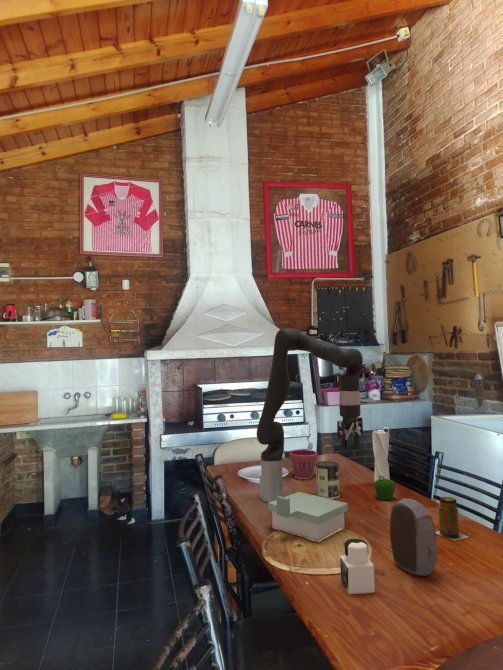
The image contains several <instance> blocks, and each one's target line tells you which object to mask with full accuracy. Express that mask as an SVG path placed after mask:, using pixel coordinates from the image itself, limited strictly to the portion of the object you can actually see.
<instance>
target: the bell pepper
mask: <svg viewBox="0 0 503 670" xmlns="http://www.w3.org/2000/svg"><path fill="white" fill-rule="evenodd" d="M378 477H379V478H382V479H383V480H382V479H378V480H377V481H375V480H374V490H375V494H376V497H377V499H378V500H381V501H385V500H387V501H391V500H390V499H394V494H395V490H396V485H395V484H396V483H395V481H394V480H392V479H390V480H388V479H385V477H383V476H378Z"/></svg>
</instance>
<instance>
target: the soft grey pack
mask: <svg viewBox="0 0 503 670" xmlns="http://www.w3.org/2000/svg"><path fill="white" fill-rule="evenodd" d="M390 509H391V510H390V522H389V539H390V548H391V552H392V557H393V562H395V564H396V565H397V566H398V567H400V568H401V569H403V570H405V571H406V572H408V573H411V574H413V575H416V576H420V577H422V576H423V577H424V576H430V575H431V574H432V573H433V571H434V568H435V565H436V563H437V560H438V544H437V536H436V535H437V534H436V533H435V532H436V529H435V528H436V527H435V524H434V521H433V518H432V516H431V514H430V513H429V511H428V510H427V509H426V507H425V506H424V504H422V503H420V502H419V501H417V500H415V499H412V498H405V497H404V498H402V499H401V500H399V501H397V502H395V504H393V505H392V506H391V508H390Z"/></svg>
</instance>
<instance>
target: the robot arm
mask: <svg viewBox="0 0 503 670" xmlns="http://www.w3.org/2000/svg"><path fill="white" fill-rule="evenodd" d="M273 342H274V345H273V346H274V347H273V354H272V362H271V367H270V368H271V369H270V374H269V378H268V383H267V387H266V394H265V399H264V402H263V403H264V404H263V407H262V411H261V415H260V417H259V421H258V425H257V428H256V439H257V441H258V442H259V444H260V445H264V446H266V445H267V447H266V448H264V450H263V451H262V452H261V453H260V466H261V467H260V470H261V475H260V476H259V499H260V500H261V501H263V502H265V503H269V502H272V501H275V500H277V497H278V496H282V497H284V483H283V482H284V481H283V480H284V478H283V477H284V475H283V470H284V469H283V455H284V451H285V430H284V426H283V425H282V424H281V422H279V421H275V419H276V416H277V414H278V412H279V411H280V409H281V407H282V406H284V404H285V402H286V401H287V398H288V396H289V392H290V388H291V378H290V374H289V371H288V368H287V358H288V355H289V354H288V352H291V351H293V352H294V351H305V352H307V353H310V354H312V356H314V357H316V358H318V359H320V360H324V361H326V362H330V363H331V364H333V365H335V366H336V367H338V368H341V369H345V373H343V374H342V375H340V377H339V394H338V395H339V398H338V399H339V403H338V405H339V407H338V408H339V416H340V417H342V420H337V424H336V437H337V438H338V439H340V443H341V444H340V446H341V447H340V448H341V450H344V451H347V450H348V449H349V447H348V445H349V443H348V437H349V435H351V432H352V435H353V446H355V447H360V446H361V438H360V437H361V435H362V434H363V433H364V423H363V422H364V419H363V417H361V416H362V415H361V393H360V377H361V372H362V368H363V363H364V362H363V360H364V359H363V355H362V352H361V351H360V350H359V349H357V348H344V347H343V348H342V347H339V346H338V345H337V344H335V343H332V342H328V341H326V340H321V339H317V338H314V337H313V336H310V335H309V334H306V333H304V332H303V331H301V330H299V329H296V328H295V329H294V328H281V329H279V330H277V332H276V335H275V337H274V341H273Z"/></svg>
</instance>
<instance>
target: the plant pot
mask: <svg viewBox="0 0 503 670" xmlns="http://www.w3.org/2000/svg"><path fill="white" fill-rule="evenodd" d="M289 460H290V461H291V465H292V470H293V474H294V477H295V476H296V477H299V478H310V477H313V478H314V473H315V470H316V465H315V463H317V461H318V452H317V451H316V450H311V449H294V450H293V449H292V450H291V451H290V452H289Z"/></svg>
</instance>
